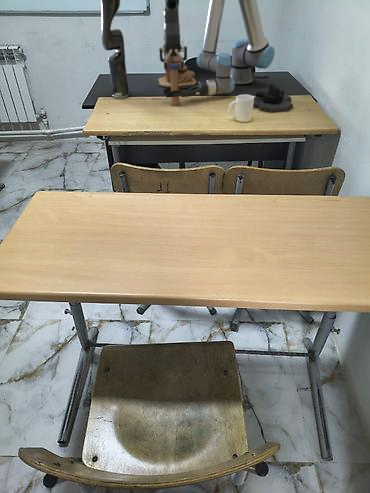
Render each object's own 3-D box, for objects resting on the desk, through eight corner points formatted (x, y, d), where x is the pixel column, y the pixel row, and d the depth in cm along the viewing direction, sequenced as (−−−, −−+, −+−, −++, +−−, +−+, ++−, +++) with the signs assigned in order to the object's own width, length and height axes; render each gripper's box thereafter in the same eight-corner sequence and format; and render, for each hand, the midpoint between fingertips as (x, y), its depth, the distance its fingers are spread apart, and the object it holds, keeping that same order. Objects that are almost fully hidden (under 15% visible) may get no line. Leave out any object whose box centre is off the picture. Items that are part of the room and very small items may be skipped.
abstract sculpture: (255, 94, 173) (243, 83, 188) (253, 113, 179) (242, 100, 194) (304, 90, 176) (288, 79, 191) (301, 109, 182) (286, 97, 197)
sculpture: (197, 88, 213) (196, 30, 194) (156, 89, 214) (152, 31, 194) (196, 75, 234) (196, 22, 215) (159, 76, 235) (156, 23, 215)
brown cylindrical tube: (171, 103, 195) (169, 65, 183) (178, 102, 195) (177, 64, 183) (172, 105, 192) (170, 67, 180) (179, 105, 192) (178, 67, 180)
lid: (177, 69, 180) (177, 65, 178) (167, 69, 181) (167, 65, 180) (180, 67, 183) (179, 63, 182) (170, 66, 184) (170, 62, 183)
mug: (229, 123, 170) (230, 101, 163) (225, 117, 176) (226, 95, 170) (254, 121, 171) (256, 99, 164) (249, 115, 177) (251, 93, 171)
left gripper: (158, 35, 168) (160, 72, 179) (188, 33, 170) (188, 70, 180) (156, 32, 174) (159, 69, 185) (185, 30, 175) (186, 67, 186)
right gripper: (212, 100, 190) (170, 106, 184) (200, 90, 202) (161, 96, 197) (212, 85, 185) (169, 90, 180) (200, 76, 198) (160, 81, 192)
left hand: (173, 69), depth 182 cm, fingers open, 7 cm apart
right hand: (165, 93), depth 188 cm, fingers closed on brown cylindrical tube, 4 cm apart
